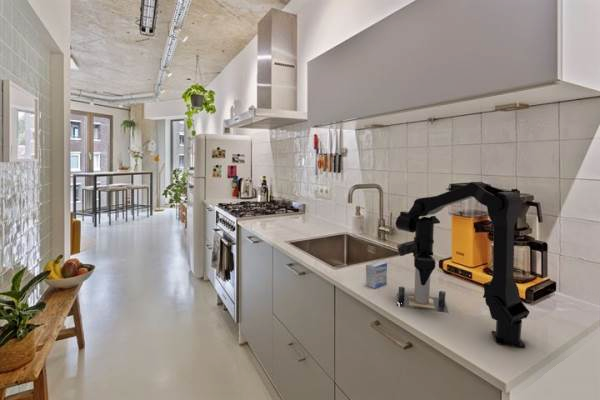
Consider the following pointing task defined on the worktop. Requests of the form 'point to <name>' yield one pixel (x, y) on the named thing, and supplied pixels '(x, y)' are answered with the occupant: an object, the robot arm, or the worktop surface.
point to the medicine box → (376, 274)
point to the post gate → (432, 305)
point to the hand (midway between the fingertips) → (422, 280)
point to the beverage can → (421, 289)
